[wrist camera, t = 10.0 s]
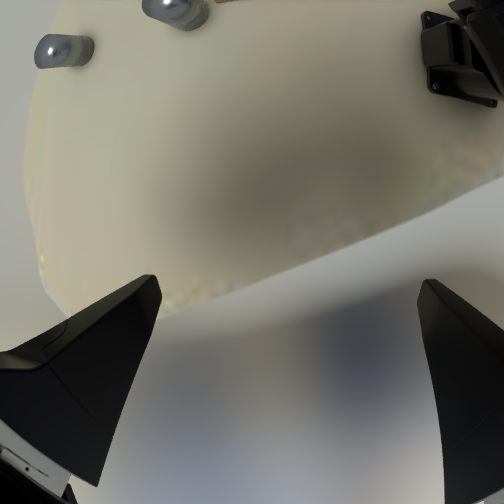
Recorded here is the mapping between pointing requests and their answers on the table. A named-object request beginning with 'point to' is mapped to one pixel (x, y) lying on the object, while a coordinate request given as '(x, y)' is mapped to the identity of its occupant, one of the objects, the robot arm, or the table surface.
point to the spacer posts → (81, 48)
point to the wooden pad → (221, 1)
